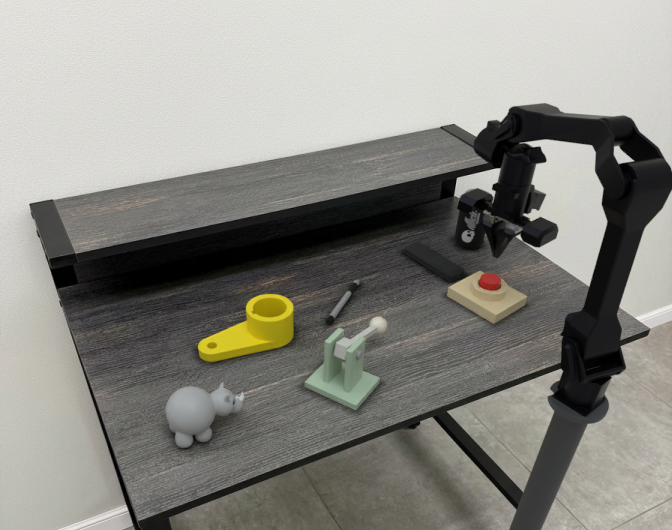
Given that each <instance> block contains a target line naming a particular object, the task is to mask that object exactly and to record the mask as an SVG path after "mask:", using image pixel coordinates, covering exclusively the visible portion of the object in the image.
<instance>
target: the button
mask: <svg viewBox="0 0 672 530" xmlns="http://www.w3.org/2000/svg"><path fill="white" fill-rule="evenodd" d="M484 273H485V274H482V275H481V277H480V282H479V286H480V287H481V288H483V289H485V290H489V291H496V290H498V289H499V287H500V283H501V279H502V278H501V277H500V276H499V275H498V274H495V273H492V272H484Z"/></svg>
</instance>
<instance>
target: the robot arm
mask: <svg viewBox="0 0 672 530" xmlns="http://www.w3.org/2000/svg"><path fill="white" fill-rule="evenodd" d="M476 135H477V136H476V137H475V138H474V140H473V151H474V153H475V155H477V156H478V157H479V158H481V159H482V160H484V161H485V162H486V163H487V164H489V165H490V166H491V167H493V168H495V169H499V173H498V178H497V182H495V183H493V184H492V186H491V190H492V191H494V196H493V194H492V193H490V192H489V191H487V192H485V191H486V190H485V191H483V190H484V189H482V188H479V187H476V188H473V189H474V190H471V191H469V192H467V193H465V192H464V193H462V194H461V195H459V197H458V200H457V204H456V209H457V210H458V211H459V210H460V211H462V212H464V213H466V214H469V213H471V212H473V211H474V207H476V208H478V209H480V210H482V211H483V214H484V216H483V220H481V221H480V225H482V226H483V228H484V230H485V236H486V238H487V241H488V244H489V247H490V251H491V253H492V254H491V255H492V258H495V259H499V258H500V257H501V256H502V255H503V253H504V252H505V250H506V249H507V248H508V246H509V245H510V243H511V242H512V241H513V240H514V238H516V237H518V236H520V238H521V241H522V242H523V243H525V244H527V245H529V246H530V247H531V246H532V247H534V248H537V249H538V248H542V247H543V246H545V245H547V244H549V243H551V242H553V241H554V240H556V239H557V236H558V234H559V225H558V224H557V223H556V222H553V221H551V220H549V219H546V218H545V217H542V216H539V217H537V218H535V219H533V220H531V218H530V217H528V216H526V215H529V214H531V213H532V211H533V210H536V211H539V212H540V209H541V207H542V205H543V203H544V201H545V199H546V197H547V194H546V193H545V192H543V191H541V190H539V189H536V186H535V185H534V184H533V183H532V182H533V179H534V175H535V171H536V167H537V165H539V164H540V165H541V164H545V163H547V160H548V159H547V157H546V154H545V153H544V151H543V149H542V147H541V145H540V146H539V145H538V146H533V145H531V144H529V143H531V142H537V141H539V142H540V141H547V140H548V141H555V142H562V143H563V142H564V143H569V144H570V143H571V144H577V145H585V146H592V149H593V150H594V152H595V159H594V160H595V161H594V163H595V164H594V172H595V174H596V177H597V179H598V180H599V182H600V185H601V186H602V197H601V208H602V210H603V213H604V216H605V219H606V226H605V230H604V234H603V236H602V240H601V243H600V247H599V251H598V254H597V258H596V261H595V264H594V268H593V272H592V276H591V279H590V283H589V286H588V289H587V294H586V297H585V301H584V304H583V306H582V309H580V310H578V311H574V312H569V313H567V314H566V316H565V317H564V324H563V329H562V331H561V332H560V333H559V335H560V336H561V337H562V338H561V349H560V350H561V351H560V369H561V371H562V372H561V376H560V377H559V380H560V381H559V380H558V381H559V383H558V386H557V388H558V389H559V390H558V391H556V392H555V393H552V395H553V397H554V398H555V399H557V400H558V401H560V402H562V403H563V404H565V405H566V406H568V407H569V408H571V409H573V410H574V411H576V412H577V413H579V414H580V415H582V416H584V417H586V416H588V415H589V414H590V413H591V412H593V411H594V410H595V409H596V408H597V407H599V406H600V405H601V404H602V403H603V402H605V400H606V398H605V397H604V394H605V395H606V392H607V389H608V387H609V386H610V383H611V380H612V379H613V376H619V375H621V374H622V373H623V372H625V370H626V369H627V366H626V361H625V358H624V354H623V349H622V346H621V338H622V332H623V328H622V324H621V322H620V319H619V316H618V312H619V309H620V306H621V303H622V299H623V296H624V293H625V290H626V287H627V284H628V281H629V279H630V275H631V272H632V269H633V265H634V262H635V259H636V256H637V253H638V249H639V247H640V244H641V241H642V237H643V234H644V231H645V228H646V227H647V226H648V225H649V224H650V223H651V222H652V221H653V219H654V218H655V217H657V215H658V214H659V213H660V212H661V211H662V210H663V209H664V206H665V205H666V202H667V201H668V199H669V197H670V195H671V193H672V167H671V165H670V164H669V163H668V161H667V160H666V158H665V156H664V154H663V153H662V151H661V149H660V147H659V146H658V145H656V144H655V143H654V142H653V141H652V140H650V139H649V138H648V137H647V136H646V135H645V134H643V133H642V132H641V131H640V130H639V128H638V126H637V124H636V123H635V121H634V119H633V118H631V117H629V116H628V115H623V114H622V115H614V116H613V115H611V116H610V115H597V114H586V113H569V112H564V111H562V110H560V108H559V107H557V106H555V105H552V104H549V103H547V102H542V103H541V102H540V103H531V104H523V105H513V106H511V107H509V109H508V112H507V114H506V115H505V116H504V118H503V119H502V120H501V121H500V120H498V119H493V120H491V119H490V120H487V122H486V126H485V127H484V128H483V129H481V130H480V131H479V133H478V134H476ZM615 147H619V149H620V150H621V152H623V153H624V154H625V155H626V156H628V157H629V158H630V160H632V161H627V162H625V161H624V162H621V163H619V161H618V159H617V158H616V156H615ZM481 189H482V190H481ZM488 192H489V193H488Z"/></svg>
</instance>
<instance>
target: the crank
mask: <svg viewBox="0 0 672 530" xmlns="http://www.w3.org/2000/svg"><path fill="white" fill-rule="evenodd" d="M245 313H246V314H245V315H246V320H245V321H243V322H240V323H237V324H234V325H233V326H231V327H228V328H226V329H223V330H222V331H219V332H217V333H215V334H212V335H210V336H208V337H206V338H203V339H202V340H200V341H199V343H198V345H197V349H198V356H199V358H200V359H201V360H203V361H205V362H209V363H210V362H211V363H213V362H218V361H223V360H228V359H232V358H236V357H241V356H246V355H250V354H255V353H260V352H264V351H269V350H273V349H279V348H281V347H284V346H286V345H287V344H289V343H290V342H291V341H292V340H293V338H294V335H295V334H294V333H295V332H294V330H295V329H294V325H295V324H294V304H293V302H292V301H291V300H290V299H289V298H287V297H286V296H283V295H281V294H277V293H276V294H275V293H264V294H259V295H257V296H254V297H253V298H251V299H250V300H248V301H247V303H246V306H245Z"/></svg>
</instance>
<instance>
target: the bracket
mask: <svg viewBox="0 0 672 530" xmlns="http://www.w3.org/2000/svg"><path fill="white" fill-rule="evenodd" d="M344 337H345V329H344V328H341V327H338V328H337V329H336V330H335V331H334V332H332V333H331V334H330V335H329V337H328V338H327V339H325V340H324V345H323V346H324V347H323V348H324V349H323V363H322V364H321V365H320V366H319V367H318V368H317V369H315V371H314V372H313V373H312V374H311V375H310V376H309V377H308V378H307V379H306V380H304V388H306V389H308V390H310V391H313V392H315V393H317V394H319V395H321V396H323V397H325V398H328V399H329V400H332V401H334V402H336V403H339V404H341V405H343V406H345V407H347V408H349V409H352V410H354V411H357V410H358V409H359V408H360V406H362V404H363V403H364V402H365V400H366V399H368V398H369V396H370V395H371V394H372V393H373V392H374V390H375V389H376V388H377V387H378V386H379V384H380V382H381V377H379V376H376V375H374V374H372V373H370V372H367V371H365V370H363V369H364V359H365V348H366V340H365V338H363V337H361V336H360V337H359V338H358V339H357V340H356V341H355V342H354V343H353V344H352V345H351V346H350V347H349V348H348V349H347V350H346V360H345V361H343V359H341V358H338V357H336V356H334V350H335V344H336V342H337V341H339V340H341V339H342V338H344Z"/></svg>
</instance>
